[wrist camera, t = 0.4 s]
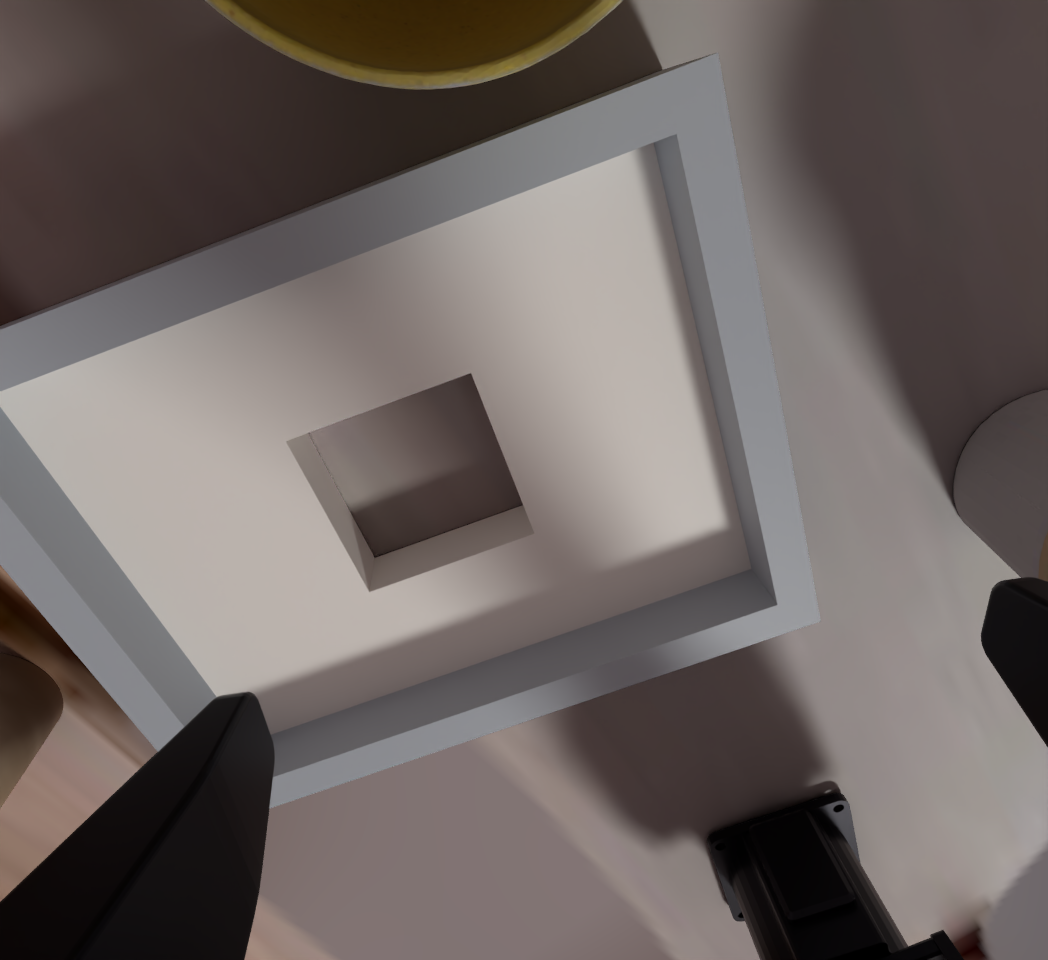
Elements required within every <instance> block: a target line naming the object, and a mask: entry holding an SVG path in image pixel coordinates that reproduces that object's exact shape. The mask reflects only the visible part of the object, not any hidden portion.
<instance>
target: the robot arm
mask: <svg viewBox="0 0 1048 960" xmlns="http://www.w3.org/2000/svg"><path fill="white" fill-rule="evenodd" d="M981 642H982V646H983V649H984V651H985V653H986V655H987V657H988V658H989V660H990V661H991V663H992V664H993V666H994V667H995V669H996V670H997V672H998V673H999V675H1000V676H1001V678H1002V679H1003V681H1004V682H1005V684H1006V685H1007V687H1008V688H1009V690H1010V691H1011V693H1012V694H1013V696H1014V697H1015V699H1016V700H1017V702H1018V703H1019V705H1020V706H1021V708H1022V709H1023V711H1024V712H1025V714H1026V715H1027V717H1028V718H1029V720H1030V721H1031V723H1032V724H1033V726H1034V727H1035V729H1036V730H1037V732H1038V733H1039V735H1040V736H1041V738H1042V739H1043V741H1044V742H1045V744H1046V746H1047V747H1048V581H1045V580H1042V579H1039V578H1035V577H1024V578H1017V579H1010V580H1003V581H1000V582H998V583H997V584H996V585H995V586H994V587H993V589H992V591H991V594H990V598H989V603H988V607H987V611H986V615H985V619H984V623H983V627H982V632H981ZM274 765H275V750H274V743H273V740H272V737H271V734H270V731H269V728H268V726H267V723H266V720H265V717H264V714H263V711H262V709H261V706H260V703H259V700H258V698H257V697H256V696H255V694H253V693H251V692H240V693H234V694H227V695H221V696H218V697H216V698H214V699H213V700H212V701H211V702H210V703H209V704H208V705H207V706H205V707H204V708H203V709H202V710H201V711H200V712H199V713H198V714H197V715H196V716H195V717H194V718H193V719H192V720H191V721H190V722H189V723H188V724H187V725H186V726H184V727H183V728H182V729H181V730H180V731H179V732H178V733H177V734H176V735H175V736H174V737H173V738H172V739H171V740H170V741H169V742H168V743H167V744H166V745H165V746H163V747H162V748H161V749H160V750H159V751H158V752H157V753H156V754H155V755H154V756H153V757H152V758H151V759H150V760H149V761H148V762H147V763H146V764H145V765H144V766H142V767H141V768H140V769H139V770H138V771H137V772H136V773H135V774H134V775H133V776H132V777H131V778H130V779H129V780H128V781H127V782H126V783H125V784H124V785H123V786H121V787H120V788H119V789H118V790H117V791H116V792H115V793H114V794H113V795H112V796H111V797H110V798H109V799H108V800H107V801H106V802H105V803H104V804H103V805H102V806H100V807H99V808H98V809H97V810H96V811H95V812H94V813H93V814H92V815H91V816H90V817H89V818H88V819H87V820H86V821H85V822H84V823H83V824H82V825H81V826H79V827H78V828H77V829H76V830H75V831H74V832H73V833H72V834H71V835H70V836H69V837H68V838H67V839H66V840H65V841H64V842H63V843H62V844H61V845H59V846H58V847H57V848H56V849H55V850H54V851H53V852H52V853H51V854H50V855H49V856H48V857H47V858H46V859H45V860H44V861H43V862H42V863H41V864H40V865H38V866H37V867H36V868H35V869H34V870H33V871H32V872H31V873H30V874H29V875H28V876H27V877H26V878H25V879H24V880H23V881H22V882H21V883H20V884H19V885H17V886H16V887H15V888H14V889H13V890H12V891H11V892H10V893H9V894H8V895H7V896H6V897H5V898H4V899H3V900H2V901H1V902H0V960H244V959H245V954H246V950H247V946H248V941H249V937H250V932H251V928H252V924H253V919H254V915H255V910H256V905H257V900H258V895H259V888H260V881H261V874H262V865H263V858H264V849H265V840H266V832H267V823H268V816H269V807H270V799H271V790H272V782H273V773H274ZM707 843H708V846H709V849H710V852H711V855H712V858H713V861H714V864H715V867H716V870H717V873H718V875H719V878H720V881H721V884H722V887H723V890H724V893H725V896H726V899H727V902H728V905H729V908H730V910H731V913H732V916H733V918H734V920H736V921H745V922H746V924H747V927H748V929H749V932H750V934H751V937H752V940H753V942H754V945H755V947H756V950H757V952H758V955H759V958H760V960H964V959H963V958H962V956H961V955H960V953H959V952H958V950H957V949H956V948H955V946H954V945H953V943H952V942H951V940H950V939H949V937H948V936H947V935H946V933H945V932H944V930H941V931H939V932H936V933H933V934H931V935H930V936H931V938H929V939H926V940H924V941H921V942H919V943H916V944H914V945H911V946H908V945H907V943H906V942H905V940H904V938H903V937H902V935H901V933H900V931H899V930H898V928H897V926H896V924H895V923H894V921H893V919H892V918H891V916H890V914H889V912H888V911H887V909H886V907H885V905H884V904H883V902H882V900H881V899H880V897H879V895H878V893H877V892H876V890H875V888H874V886H873V885H872V883H871V881H870V880H869V878H868V876H867V874H866V873H865V871H864V869H863V867H862V866H861V864H860V859H859V854H858V848H857V843H856V838H855V832H854V827H853V821H852V816H851V811H850V805H849V803H848V802H847V800H846V798H845V797H844V795H843V794H841V793H835V794H831V795H828V796H825V797H822V798H818V799H815V800H812V801H809V802H806V803H803V804H800V805H797V806H794V807H791V808H788V809H785V810H782V811H779V812H775V813H772V814H769V815H766V816H763V817H760V818H757V819H754V820H751V821H748V822H745V823H742V824H739V825H736V826H732V827H729V828H726V829H723V830H720V831H717V832H714V833H712V834H711V835H710V836H709V837H708V838H707Z"/></svg>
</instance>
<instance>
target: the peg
mask: <svg viewBox="0 0 1048 960" xmlns="http://www.w3.org/2000/svg"><path fill="white" fill-rule="evenodd" d="M62 711H63V698H62V694H61V692H60V689H59V688H58V686H57V684H56V683H55V682H54V680H53V679H52V678H51V677H50V676H49V675H48V674H47V673H46V672H44V671H43V670H42V669H40V668H39V667H37V666H36V665H34V664H32V663H30V662H28V661H26V660H23V659H21V658H18V657H15V656H12V655H7V654H2V653H0V808H1V807H2V805H3V804H4V802H5V801H6V799H7V798H8V796H9V795H10V793H11V792H12V790H13V789H14V787H15V786H16V784H17V783H18V781H19V779H20V778H21V776H22V775H23V773H24V772H25V770H26V769H27V767H28V766H29V764H30V763H31V761H32V760H33V758H34V757H35V755H36V754H37V752H38V751H39V749H40V748H41V746H42V745H43V743H44V741H45V740H46V738H47V737H48V735H49V734H50V732H51V731H52V729H53V728H54V726H55V725H56V723H57V722H58V720H59V719H60V717H61V714H62Z"/></svg>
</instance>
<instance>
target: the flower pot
mask: <svg viewBox="0 0 1048 960" xmlns="http://www.w3.org/2000/svg"><path fill="white" fill-rule="evenodd" d="M205 1H206V2H207V3H208V4H209V5H210V6H212V7H213V8H214V9H215V10H216V11H218V12H219V13H220V14H221V15H223V16H224V17H225V18H227V19H228V20H229V21H231V22H232V23H233V24H235V25H236V26H237V27H239V28H240V29H242V30H243V31H245V32H246V33H248V34H249V35H251V36H252V37H254V38H255V39H257V40H258V41H260V42H262V43H264V44H265V45H267V46H269V47H271V48H272V49H274V50H276V51H278V52H280V53H282V54H284V55H286V56H288V57H290V58H292V59H294V60H296V61H298V62H301V63H303V64H306V65H308V66H310V67H313V68H315V69H318V70H321V71H323V72H326V73H329V74H332V75H335V76H338V77H341V78H345V79H349V80H353V81H357V82H361V83H366V84H372V85H377V86H383V87H391V88H399V89H442V88H454V87H462V86H468V85H473V84H479V83H483V82H487V81H490V80H494V79H498V78H501V77H504V76H507V75H510V74H513V73H516V72H518V71H521V70H523V69H525V68H528V67H530V66H532V65H534V64H536V63H538V62H540V61H542V60H543V59H545V58H547V57H549V56H551V55H553V54H555V53H556V52H558V51H560V50H562V49H563V48H565V47H566V46H568V45H569V44H571V43H572V42H573V41H575V40H576V39H578V38H579V37H581V36H582V35H583V34H585V33H586V32H588V31H589V30H590V29H592V28H593V27H594V26H595V25H596V24H597V23H598V22H599V21H601V20H602V19H603V18H604V17H605V16H607V15H608V14H609V13H610V12H611V11H612V10H614V9H615V8H616V7H617V6H618V5H619V4H620V3H621V2H622V1H623V0H205Z"/></svg>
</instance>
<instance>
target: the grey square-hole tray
mask: <svg viewBox="0 0 1048 960" xmlns="http://www.w3.org/2000/svg"><path fill="white" fill-rule="evenodd" d="M470 373H471V374H472V377H473V379H474V382H475V385H476V387H477V390H478V392H479V395H480V397H481V400H482V402H483V405H484V407H485V410H486V412H487V415H488V417H489V420H490V422H491V425H492V427H493V430H494V433H495V435H496V438H497V440H498V443H499V445H500V448H501V450H502V453H503V455H504V458H505V460H506V463H507V465H508V468H509V470H510V473H511V475H512V478H513V480H514V483H515V486H516V488H517V491H518V493H519V496H520V498H521V501H522V503H523V505H522V506H519V507H516V508H514V509H511V510H508V511H505V512H502V513H499V514H497V515H494V516H491V517H488V518H485V519H483V520H480V521H477V522H474V523H471V524H469V525H466V526H463V527H460V528H457V529H455V530H452V531H449V532H446V533H443V534H441V535H438V536H435V537H432V538H429V539H427V540H424V541H421V542H418V543H415V544H413V545H410V546H407V547H404V548H401V549H398V550H396V551H393V552H390V553H387V554H384V555H382V556H379V557H376V558H374V556H373V554H372V552H371V550H370V548H369V546H368V544H367V543H366V541H365V539H364V537H363V535H362V533H361V531H360V529H359V528H358V526H357V524H356V522H355V520H354V518H353V516H352V514H351V513H350V511H349V509H348V507H347V505H346V503H345V501H344V499H343V498H342V496H341V494H340V492H339V490H338V488H337V486H336V484H335V483H334V481H333V479H332V477H331V475H330V473H329V471H328V470H327V468H326V466H325V464H324V462H323V460H322V458H321V456H320V455H319V453H318V451H317V449H316V447H315V445H314V443H313V441H312V440H311V438H310V436H309V434H308V433H310V432H312V431H315V430H318V429H320V428H323V427H326V426H329V425H331V424H334V423H337V422H339V421H342V420H345V419H348V418H350V417H353V416H356V415H358V414H361V413H364V412H367V411H369V410H372V409H375V408H377V407H380V406H383V405H386V404H388V403H391V402H394V401H396V400H399V399H402V398H405V397H407V396H410V395H413V394H415V393H418V392H421V391H424V390H426V389H429V388H432V387H434V386H437V385H440V384H443V383H445V382H448V381H451V380H453V379H456V378H459V377H462V376H464V375H467V374H470ZM0 565H1V566H2V567H3V568H4V570H5V571H6V572H7V573H8V574H9V576H10V577H11V578H12V579H13V580H14V581H15V583H16V584H17V585H18V586H19V587H20V589H21V590H22V591H23V592H24V593H25V595H26V596H27V597H28V598H29V599H30V600H31V602H32V603H33V604H34V605H35V606H36V608H37V609H38V610H39V611H40V612H41V614H42V615H43V616H44V617H45V618H46V619H47V621H48V622H49V623H50V624H51V625H52V627H53V628H54V629H55V630H56V631H57V633H58V634H59V635H60V636H61V637H62V638H63V640H64V641H65V642H66V643H67V644H68V646H69V647H70V648H71V649H72V650H73V652H74V653H75V654H76V655H77V656H78V657H79V659H80V660H81V661H82V662H83V663H84V665H85V666H86V667H87V668H88V669H89V671H90V672H91V673H92V674H93V675H94V676H95V678H96V679H97V680H98V681H99V682H100V684H101V685H102V686H103V687H104V688H105V690H106V691H107V692H108V693H109V694H110V695H111V697H112V698H113V699H114V700H115V701H116V703H117V704H118V705H119V706H120V707H121V709H122V710H123V711H124V712H125V713H126V714H127V716H128V717H129V718H130V719H131V720H132V722H133V723H134V724H135V725H136V726H137V728H138V729H139V730H140V731H141V732H142V733H143V735H144V736H145V737H146V738H147V739H148V741H149V742H150V743H151V744H152V745H153V746H154V748H155V749H156V750H157V751H159V750H160V749H161V748H162V747H163V746H165V745H166V744H167V743H168V742H169V741H170V740H171V739H172V738H173V737H174V736H175V735H176V734H177V733H178V732H179V731H180V730H181V729H182V728H183V727H184V726H186V725H187V724H188V723H189V722H190V721H191V720H192V719H193V718H194V717H195V716H196V715H197V714H198V713H199V712H200V711H201V710H202V709H203V708H204V707H205V706H207V705H208V704H209V703H210V702H211V701H212V700H213V699H214V698H216V697H218V696H221V695H227V694H234V693H240V692H251V693H253V694H255V696H256V697H257V698H258V700H259V703H260V706H261V709H262V711H263V714H264V717H265V720H266V723H267V726H268V728H269V731H270V734H271V737H272V740H273V743H274V750H275V765H274V773H273V782H272V790H271V799H270V807H269V808H272V807H275V806H278V805H281V804H284V803H287V802H290V801H293V800H296V799H298V798H302V797H304V796H307V795H310V794H313V793H316V792H319V791H322V790H325V789H328V788H331V787H334V786H337V785H340V784H343V783H346V782H349V781H352V780H355V779H357V778H361V777H364V776H366V775H369V774H372V773H375V772H378V771H381V770H384V769H387V768H390V767H393V766H396V765H399V764H402V763H405V762H408V761H411V760H413V759H417V758H420V757H423V756H425V755H428V754H431V753H434V752H437V751H440V750H443V749H446V748H449V747H452V746H455V745H458V744H461V743H464V742H467V741H470V740H473V739H476V738H479V737H481V736H484V735H487V734H490V733H493V732H496V731H499V730H502V729H505V728H508V727H511V726H514V725H517V724H520V723H523V722H526V721H529V720H532V719H535V718H537V717H540V716H543V715H546V714H549V713H552V712H555V711H558V710H561V709H564V708H567V707H570V706H573V705H576V704H579V703H582V702H585V701H588V700H591V699H593V698H596V697H599V696H602V695H605V694H608V693H611V692H614V691H617V690H620V689H623V688H626V687H629V686H632V685H635V684H638V683H641V682H644V681H647V680H649V679H652V678H655V677H658V676H661V675H664V674H667V673H670V672H673V671H676V670H679V669H682V668H685V667H688V666H691V665H694V664H697V663H700V662H703V661H705V660H708V659H711V658H714V657H717V656H720V655H723V654H726V653H729V652H732V651H735V650H738V649H741V648H744V647H747V646H750V645H753V644H756V643H759V642H761V641H764V640H767V639H770V638H773V637H776V636H779V635H782V634H785V633H788V632H791V631H794V630H797V629H800V628H803V627H806V626H809V625H812V624H815V623H817V622H820V621H821V620H820V614H819V609H818V603H817V597H816V592H815V586H814V581H813V575H812V570H811V564H810V559H809V553H808V548H807V542H806V537H805V531H804V526H803V520H802V514H801V509H800V503H799V498H798V492H797V487H796V481H795V476H794V470H793V465H792V459H791V454H790V448H789V443H788V437H787V431H786V426H785V420H784V415H783V409H782V404H781V398H780V393H779V387H778V382H777V376H776V371H775V365H774V360H773V354H772V348H771V343H770V337H769V332H768V326H767V321H766V315H765V310H764V304H763V299H762V293H761V288H760V282H759V277H758V271H757V265H756V260H755V254H754V249H753V243H752V238H751V232H750V227H749V221H748V216H747V210H746V205H745V199H744V194H743V188H742V182H741V177H740V171H739V166H738V160H737V155H736V149H735V144H734V138H733V133H732V127H731V122H730V116H729V111H728V105H727V99H726V94H725V88H724V83H723V77H722V72H721V66H720V61H719V55H718V53H715V54H712V55H709V56H705V57H702V58H699V59H696V60H693V61H689V62H686V63H683V64H680V65H677V66H673V67H670V68H667V69H664V70H661V71H659V72H656V73H653V74H651V75H648V76H646V77H643V78H641V79H638V80H635V81H633V82H630V83H628V84H625V85H622V86H620V87H617V88H615V89H612V90H609V91H607V92H604V93H602V94H599V95H597V96H594V97H591V98H589V99H586V100H584V101H581V102H578V103H576V104H573V105H571V106H568V107H565V108H563V109H560V110H558V111H555V112H553V113H550V114H547V115H545V116H542V117H540V118H537V119H534V120H532V121H529V122H527V123H524V124H522V125H519V126H516V127H514V128H511V129H509V130H506V131H503V132H501V133H498V134H496V135H493V136H490V137H488V138H485V139H483V140H480V141H478V142H475V143H472V144H470V145H467V146H465V147H462V148H459V149H457V150H454V151H452V152H449V153H447V154H444V155H441V156H439V157H436V158H434V159H431V160H428V161H426V162H423V163H421V164H418V165H415V166H413V167H410V168H408V169H405V170H403V171H400V172H397V173H395V174H392V175H390V176H387V177H384V178H382V179H379V180H377V181H374V182H372V183H369V184H366V185H364V186H361V187H359V188H356V189H353V190H351V191H348V192H346V193H343V194H340V195H338V196H335V197H333V198H330V199H328V200H325V201H322V202H320V203H317V204H315V205H312V206H309V207H307V208H304V209H302V210H299V211H296V212H294V213H291V214H289V215H286V216H284V217H281V218H278V219H276V220H273V221H271V222H268V223H265V224H263V225H260V226H258V227H255V228H253V229H250V230H247V231H245V232H242V233H240V234H237V235H234V236H232V237H229V238H227V239H224V240H221V241H219V242H216V243H214V244H211V245H209V246H206V247H203V248H201V249H198V250H196V251H193V252H190V253H188V254H185V255H183V256H180V257H178V258H175V259H172V260H170V261H167V262H165V263H162V264H159V265H157V266H154V267H152V268H149V269H146V270H144V271H141V272H139V273H136V274H134V275H131V276H128V277H126V278H123V279H121V280H118V281H115V282H113V283H110V284H108V285H105V286H103V287H100V288H97V289H95V290H92V291H90V292H87V293H84V294H82V295H79V296H77V297H74V298H71V299H69V300H66V301H64V302H61V303H59V304H56V305H53V306H51V307H48V308H46V309H43V310H40V311H38V312H35V313H33V314H30V315H27V316H25V317H22V318H20V319H17V320H15V321H12V322H9V323H7V324H4V325H2V326H0Z"/></svg>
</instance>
